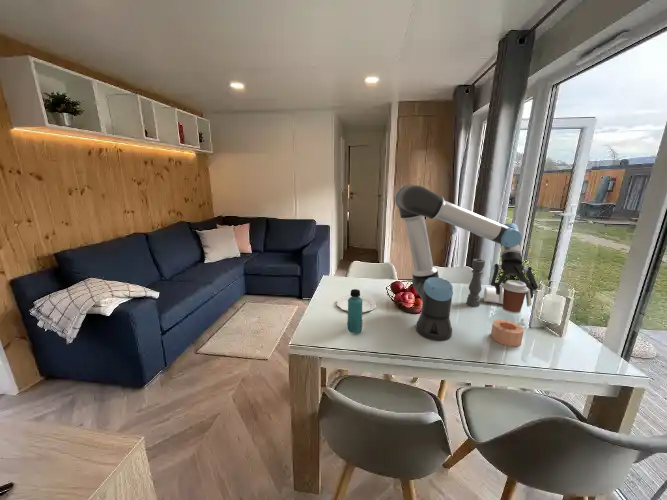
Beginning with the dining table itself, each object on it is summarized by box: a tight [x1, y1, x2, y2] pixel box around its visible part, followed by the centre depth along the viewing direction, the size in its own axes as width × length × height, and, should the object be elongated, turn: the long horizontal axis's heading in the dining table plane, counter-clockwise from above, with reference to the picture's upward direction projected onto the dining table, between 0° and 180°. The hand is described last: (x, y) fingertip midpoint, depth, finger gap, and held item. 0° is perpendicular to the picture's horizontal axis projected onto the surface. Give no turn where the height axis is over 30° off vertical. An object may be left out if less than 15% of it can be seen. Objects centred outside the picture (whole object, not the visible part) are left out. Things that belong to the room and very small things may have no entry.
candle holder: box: [466, 258, 486, 308], centre depth 149 cm, size 6×6×25 cm
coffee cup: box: [501, 279, 529, 315], centre depth 114 cm, size 9×9×12 cm
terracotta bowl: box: [490, 319, 525, 347], centre depth 118 cm, size 11×11×6 cm
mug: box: [483, 286, 504, 305], centre depth 156 cm, size 12×10×8 cm
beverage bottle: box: [346, 288, 363, 334], centre depth 121 cm, size 6×7×20 cm
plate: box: [336, 295, 377, 314], centre depth 150 cm, size 21×21×2 cm
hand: (515, 303), depth 112 cm, fingers closed on coffee cup, 9 cm apart
